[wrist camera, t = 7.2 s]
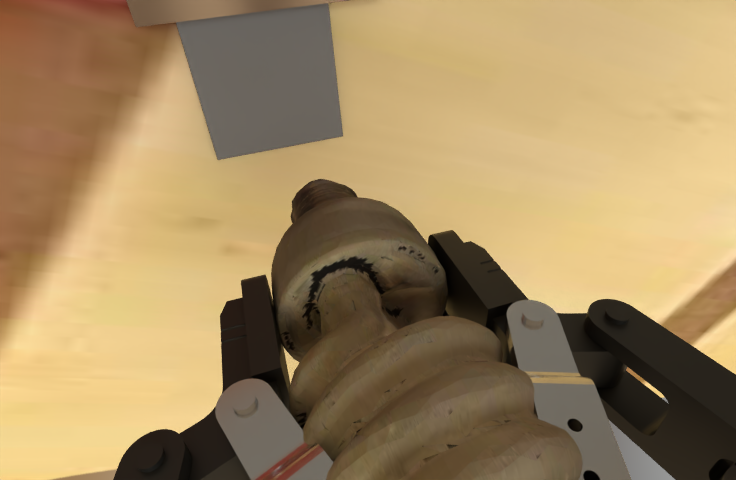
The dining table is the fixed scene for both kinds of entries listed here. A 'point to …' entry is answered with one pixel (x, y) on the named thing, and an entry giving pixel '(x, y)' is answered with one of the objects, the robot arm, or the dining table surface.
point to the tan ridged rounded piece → (397, 356)
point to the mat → (265, 78)
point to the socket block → (204, 9)
